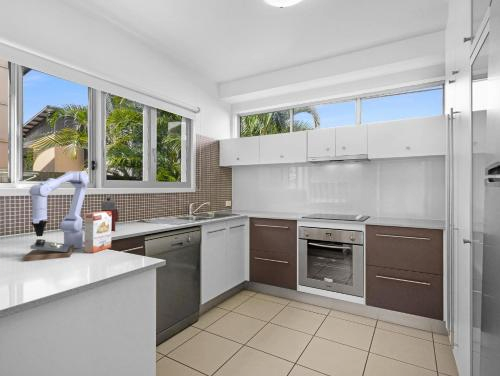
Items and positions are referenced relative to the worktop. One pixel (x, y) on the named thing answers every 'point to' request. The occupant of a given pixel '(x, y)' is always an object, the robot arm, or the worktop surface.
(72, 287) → the worktop surface
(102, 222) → the cracker box
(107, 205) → the toy vending machine
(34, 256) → the base
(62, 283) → the worktop surface
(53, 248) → the plate
